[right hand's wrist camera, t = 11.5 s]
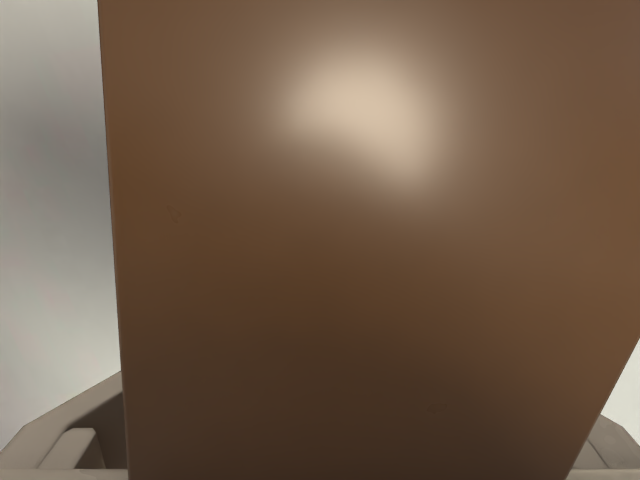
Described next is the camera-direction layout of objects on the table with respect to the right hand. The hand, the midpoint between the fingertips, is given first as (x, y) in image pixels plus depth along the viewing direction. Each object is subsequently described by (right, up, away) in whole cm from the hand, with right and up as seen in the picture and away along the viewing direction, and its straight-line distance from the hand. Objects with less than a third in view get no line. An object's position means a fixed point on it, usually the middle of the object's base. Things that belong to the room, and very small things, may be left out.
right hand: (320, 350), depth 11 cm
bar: (+1, +10, 0) cm, 10 cm away
